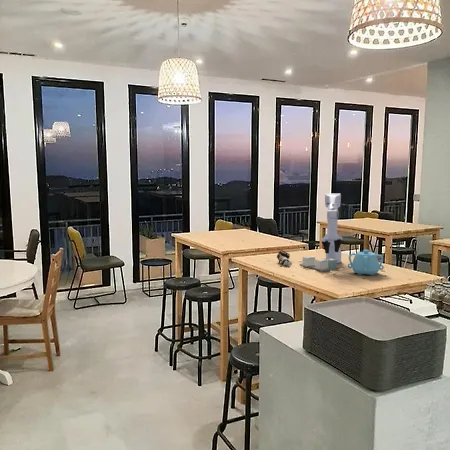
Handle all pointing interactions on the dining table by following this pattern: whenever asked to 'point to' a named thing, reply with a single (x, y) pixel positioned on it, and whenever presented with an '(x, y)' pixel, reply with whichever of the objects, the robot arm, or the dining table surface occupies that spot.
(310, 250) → the dining table surface
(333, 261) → the block
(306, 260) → the mounted module
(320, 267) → the block
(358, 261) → the decorative pot
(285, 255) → the figurine
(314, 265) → the rail
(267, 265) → the dining table surface
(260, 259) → the dining table surface
